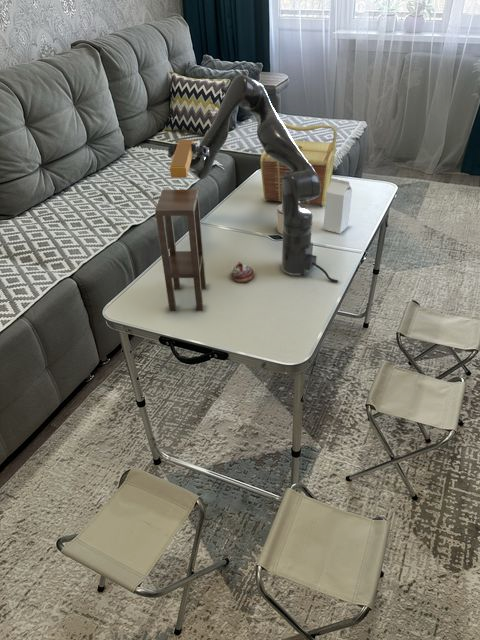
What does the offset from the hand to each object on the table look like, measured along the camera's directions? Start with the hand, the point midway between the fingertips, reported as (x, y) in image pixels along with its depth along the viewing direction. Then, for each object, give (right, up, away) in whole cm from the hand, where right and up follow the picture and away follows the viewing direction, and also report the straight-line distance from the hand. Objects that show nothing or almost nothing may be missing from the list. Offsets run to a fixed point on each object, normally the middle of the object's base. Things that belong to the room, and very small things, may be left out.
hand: (184, 147), depth 155 cm
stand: (+1, -46, +4) cm, 46 cm away
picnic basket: (+39, +4, +64) cm, 75 cm away
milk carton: (+52, -15, +41) cm, 68 cm away
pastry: (+17, -38, +14) cm, 44 cm away
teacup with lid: (+35, -15, +41) cm, 56 cm away
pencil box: (0, -6, -2) cm, 6 cm away
